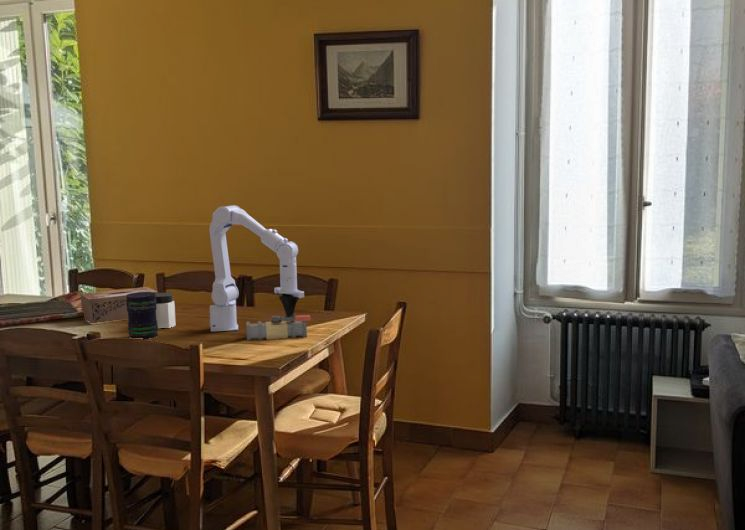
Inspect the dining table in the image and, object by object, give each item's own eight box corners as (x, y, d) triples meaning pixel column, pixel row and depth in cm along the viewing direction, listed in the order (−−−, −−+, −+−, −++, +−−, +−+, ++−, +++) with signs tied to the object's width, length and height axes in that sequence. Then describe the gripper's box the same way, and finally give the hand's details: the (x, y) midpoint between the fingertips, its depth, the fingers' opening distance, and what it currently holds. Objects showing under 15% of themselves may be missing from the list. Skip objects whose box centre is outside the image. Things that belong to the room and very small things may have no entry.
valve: (247, 340, 246) (246, 325, 245) (246, 336, 252) (246, 321, 251) (306, 337, 249) (306, 322, 249) (305, 333, 255) (305, 318, 254)
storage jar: (148, 341, 248) (145, 297, 245) (122, 339, 250) (119, 296, 248) (164, 334, 257) (161, 292, 255) (139, 333, 260) (136, 291, 258)
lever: (270, 323, 248) (270, 317, 248) (271, 320, 251) (271, 315, 251) (310, 321, 249) (310, 316, 249) (310, 319, 252) (310, 314, 252)
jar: (175, 323, 274) (174, 292, 272) (175, 328, 266) (173, 295, 265) (150, 325, 272) (148, 293, 270) (149, 330, 264) (147, 297, 262)
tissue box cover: (90, 325, 275) (89, 299, 273) (82, 319, 287) (80, 293, 285) (159, 317, 288) (158, 291, 287) (148, 311, 300) (147, 286, 299)
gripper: (266, 276, 257) (268, 314, 259) (292, 280, 247) (293, 320, 248) (283, 274, 262) (284, 311, 264) (308, 278, 251) (309, 317, 253)
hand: (289, 315), depth 256 cm, fingers closed
